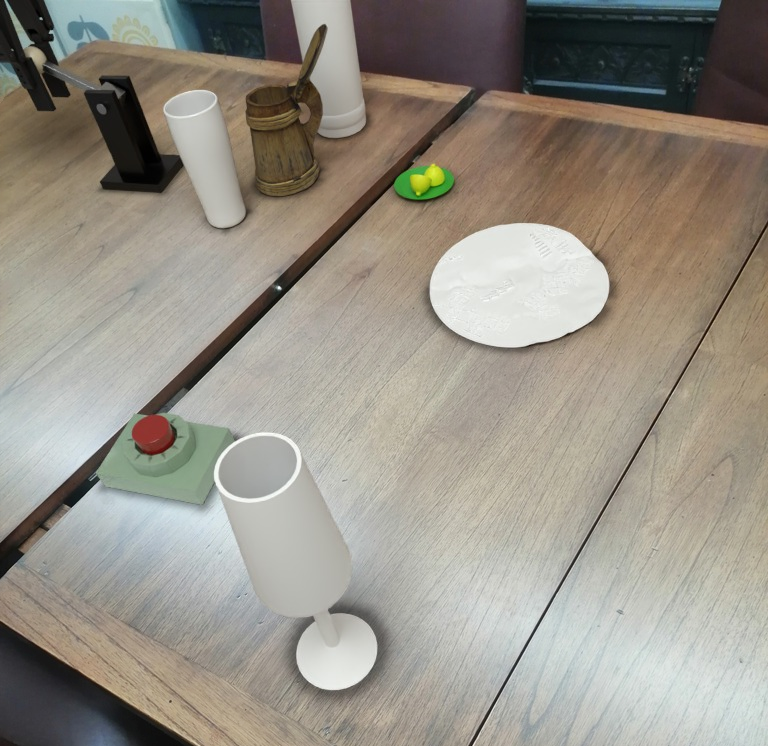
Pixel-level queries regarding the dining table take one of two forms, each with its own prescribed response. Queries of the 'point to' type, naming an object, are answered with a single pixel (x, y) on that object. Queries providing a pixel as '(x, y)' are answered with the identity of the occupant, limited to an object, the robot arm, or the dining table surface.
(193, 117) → the drinking glass
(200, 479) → the control block
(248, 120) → the wooden mug
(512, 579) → the dining table surface
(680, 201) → the dining table surface
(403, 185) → the lemon
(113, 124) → the lever bracket
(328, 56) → the bottle
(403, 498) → the dining table surface
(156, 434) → the button
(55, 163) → the dining table surface
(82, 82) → the lever
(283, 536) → the champagne flute
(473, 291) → the plaque
